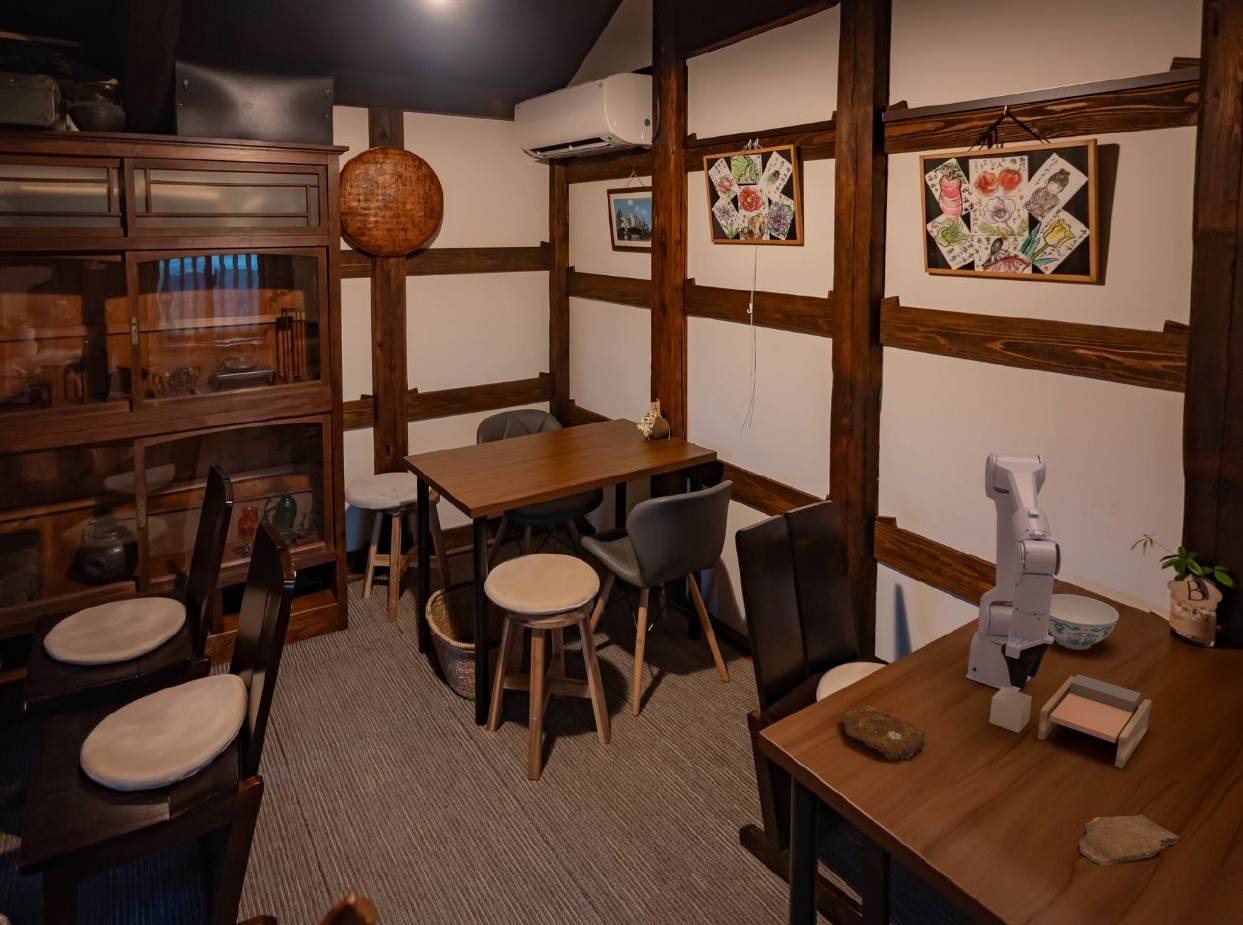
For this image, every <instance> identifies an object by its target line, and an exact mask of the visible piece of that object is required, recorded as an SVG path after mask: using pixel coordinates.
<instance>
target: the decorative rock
mask: <svg viewBox="0 0 1243 925" xmlns="http://www.w3.org/2000/svg"><path fill="white" fill-rule="evenodd" d="M839 715H840V716H841V717H842V723H843V724H844V725H845V728H844V730H845V732H846V733H845V734H846V736H848V737H851V738H853V739H854V740H857V741H860V742H862V743H864V744H865V746H867V747H869V748H871V749H874V750H876V751H878V752H879V753H881V754H882V755H883V756H885V758H886V759H888V760H889V761H891V760H894V759H895V760H902V759H905V760H907V761H909V762H911V761H914V760H915V756H918V755H919V753H920V752H919V749H920V748H922V746H924V743H925V735H926V734H928V732H927V730H922V729H919V728H918V727H917V726H916V725H915V724H913V723H911V722H909V721H907V720H904V719H902V718H900V717H894V716H891V715H889V714H886V713H882V712H879V711H877V710H876V708H875V707H873V706H870V705H868V704H859V705H857V706H856V707H846V708H843V710H841V712H840V713H839ZM914 755H915V756H914Z"/></svg>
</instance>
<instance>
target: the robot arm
mask: <svg viewBox="0 0 1243 925" xmlns="http://www.w3.org/2000/svg"><path fill="white" fill-rule="evenodd" d="M1046 463H1047V462H1046V459H1045V458H1044V456H1043V455H1042V454H1036V455H1032V454H1031V455H1030V454H1011V453H1010V454H1007V453H995V452H990V454H989V455H987V456H986V459H985V468H984V491H985V495H986V498H988V499H990V500H992V501H994V505H995V510H996V538H995V540H996V542H995V543H996V549H995V550H996V552H995V553H996V556H995V557H996V559H995V560H996V561H995V562H996V563H995V564H996V567H995V586H994V587H993V588H990V589H989V590H988V591H985V593H983V594H982V595H981V597H980V599H979V600H980V602H979V608H978V630H977V631H976V632H975V633H974V635H972V636H973V637H972V639H971V642H970V647H969V648H970V649H969V655H968V656H969V657H968V669H967V674H966V675H965V678H966V679H968V680H971V681H974V682H977V683H981V684H984V685H987V686H990V687H993V688H995V689H999V690H1000V689H1001V688H1002V687H1005V688H1008V689H1011V690H1014V691H1017V692H1020V690H1021V689H1022V690H1024V688H1025V687H1026V685H1027V683H1028V682H1029V681H1030V680H1031V678H1033V679H1034V678H1036V676H1037V673H1038V671H1039V670H1040V665H1041V663H1042V662H1043V661H1042V660H1043V658H1044V656H1045V654H1046V652H1047V651H1048V649H1049V648H1050V647H1051V645H1052V644H1053V643H1054V642H1055V637H1054V636H1053V635H1051V634H1050V635H1049V632H1048V628H1049V614H1050V606H1051V598H1052V595H1053V588H1054V579H1055V577H1056V576H1057V577H1058V575H1059V574H1060V570H1061V565H1062V563H1061V562H1062V551H1061V545H1060V542H1059V541H1058V540H1056V537H1053V536H1052V534H1051V528H1050V525H1049V520H1048V516H1047V514H1046V512H1045V511H1044V510H1042V509H1040V508H1039V503H1038V495H1039V494H1040V491H1041V489H1042V488H1043V485H1044V484H1045V482H1046V481H1045V480H1046V475H1047V464H1046ZM994 602H996V603H994ZM1003 603H1004V604H1003ZM1005 603H1006V604H1005ZM1007 603H1008V604H1007Z"/></svg>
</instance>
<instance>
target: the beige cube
mask: <svg viewBox="0 0 1243 925" xmlns="http://www.w3.org/2000/svg"><path fill="white" fill-rule="evenodd" d="M1032 698H1033V696H1032V695H1029V694H1026V693H1024V692H1023V693H1022V692H1020V691H1018V692H1017V691H1014V690H1011V689H1008V688H1005V687H1002V688H1001V689H999V690H998V691H997V692H996V693H995V694H994V695H993V696H992V697H991V706H990V716H989V723H990V724H993V725H995V726H998V727H1000V728H1003V729H1007V730H1008V731H1012V732H1015V733H1017V734H1020V732H1021V731H1022V730H1023V729H1024V728H1025V726H1026V725H1027V724H1028V723H1029V722H1030V715H1031V707H1032Z"/></svg>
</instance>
